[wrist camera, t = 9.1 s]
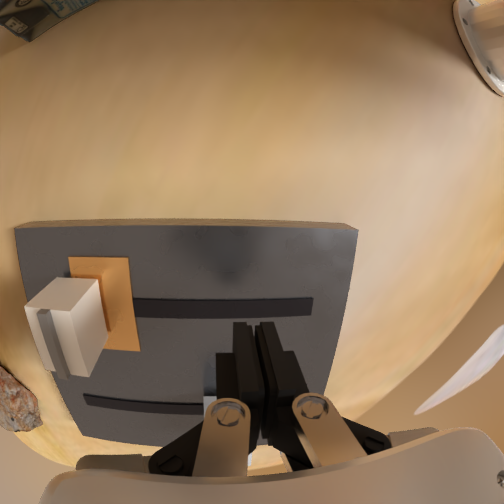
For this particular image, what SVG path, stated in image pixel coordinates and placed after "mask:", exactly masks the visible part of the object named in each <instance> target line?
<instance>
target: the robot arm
mask: <svg viewBox="0 0 504 504" xmlns="http://www.w3.org/2000/svg"><path fill="white" fill-rule="evenodd" d="M453 15H454V19H455V24H456V26H457V29H458V32H459V35H460V37H461V39H462V42H463V44H464V46H465V48H466V50H467V52H468V54H469V56H470V58H471V60H472V61H473V63H474V65H475V66H476V68H477V70H478V71H479V73H480V74H481V76H482V77H483V78H484V80H485V81H486V82H487V84H488V85H489V86H490V87H491V88H492V89H493V90H494V91H495V92H496V93H497V94H499V95H500V96H502V97H504V0H495V1H492V2H489V3H486V4H483V5H480V4H479V3H478V2H476V1H474V0H456V1H455V2H454V6H453ZM216 398H217V400H216V401H214V402H212V403H211V404H210V405H209V406H208V407H207V410H206V413H205V417H204V420H203V421H202V422H200V423H199V424H198V425H196V426H195V427H193V428H192V429H190V430H189V431H187V432H186V433H184V434H183V435H181V436H180V437H178V438H177V439H175V440H174V441H172V442H171V443H169V444H168V445H166V446H165V447H163V448H161V449H160V450H158V451H157V452H155V453H154V454H153V455H152V456H142V454H131V455H86V456H84V457H82V458H80V459H79V461H78V462H77V465H76V470H74V471H69V472H65V473H62V474H59V475H57V476H55V477H54V478H53V479H52V480H51V481H50V482H49V484H48V485H47V487H46V488H45V490H44V492H43V495H42V497H41V499H40V502H39V504H504V455H503V453H502V452H501V451H500V449H499V448H498V447H497V446H496V444H495V443H494V442H493V441H492V440H491V439H490V438H489V437H488V436H487V435H486V434H485V433H484V432H482V431H481V430H479V429H476V428H470V427H468V428H467V427H462V428H452V429H447V430H442V431H439V430H437V429H435V428H421V429H414V430H407V431H399V432H390V433H389V434H388V435H384V434H383V433H381V432H378V431H375V430H373V429H371V428H368V427H365V426H363V425H360V424H358V423H356V422H353V421H351V420H348V419H346V418H344V417H341V415H340V414H339V412H338V411H337V409H336V408H335V406H334V405H333V403H332V402H331V401H330V400H329V399H328V398H327V397H325V396H324V395H321V394H318V393H310V392H309V389H308V387H307V384H306V381H305V379H304V376H303V373H302V371H301V368H300V366H299V363H298V360H297V358H296V355H295V353H294V351H293V350H292V351H283V348H282V345H281V342H280V339H279V336H278V333H277V330H276V327H275V324H274V322H273V321H271V322H260V325H255V333H254V334H253V329H252V325H247V322H233V344H232V353H216ZM260 430H261V436H262V439H267V442H268V446H273V447H274V448H276V449H278V450H279V451H280V454H281V458H282V460H283V462H284V465H285V467H286V469H287V471H288V472H287V473H279V474H270V475H260V476H247V467H248V455H249V454H251V453H252V452H253V451H254V450H255V449H256V445H257V440H258V439H259V433H260Z"/></svg>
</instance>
